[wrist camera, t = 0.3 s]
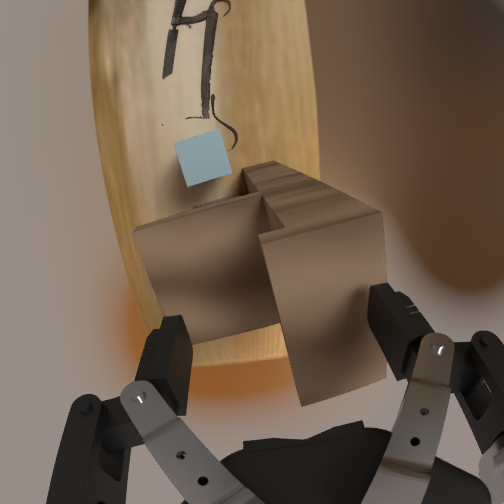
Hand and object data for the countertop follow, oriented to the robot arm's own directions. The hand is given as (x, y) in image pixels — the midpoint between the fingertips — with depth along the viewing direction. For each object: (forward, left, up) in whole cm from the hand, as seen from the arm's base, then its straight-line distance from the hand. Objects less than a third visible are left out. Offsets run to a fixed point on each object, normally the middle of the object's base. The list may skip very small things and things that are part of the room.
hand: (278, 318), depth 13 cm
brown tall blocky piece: (+2, -1, -28) cm, 28 cm away
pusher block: (-6, -3, -28) cm, 29 cm away
